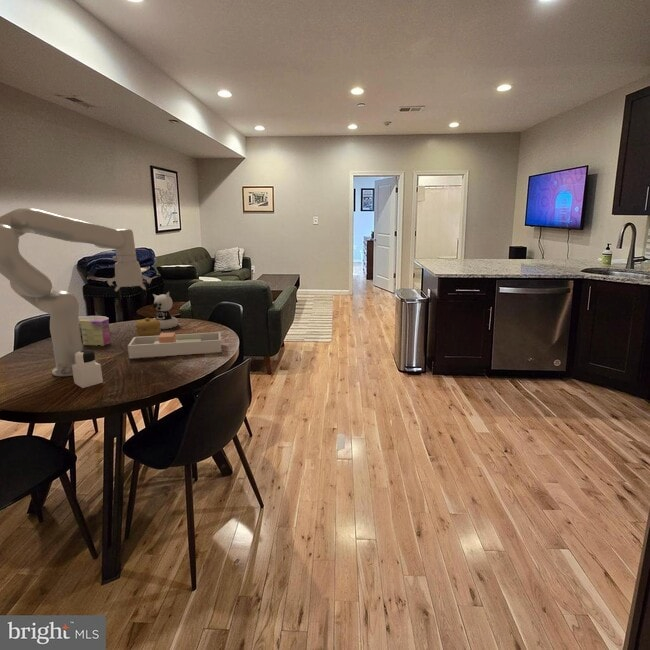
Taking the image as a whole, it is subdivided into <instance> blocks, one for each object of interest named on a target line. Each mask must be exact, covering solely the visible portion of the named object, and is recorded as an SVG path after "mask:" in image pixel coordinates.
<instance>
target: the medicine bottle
mask: <svg viewBox="0 0 650 650" xmlns="http://www.w3.org/2000/svg"><path fill="white" fill-rule="evenodd" d="M75 359H76V364H74V365H72V370H73V375H72V377H73V383H74V384H75V385H76V386H79V387H80V388H81V389H85V388H88V387H93V386H95V385H99V384H103V383H104V380H103V372H102V365H101V363H98V362H96V355H95V351H93V350H91V349H85V350H84V349H83V351H79V352H77V353H76V354H75Z"/></svg>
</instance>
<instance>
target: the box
mask: <svg viewBox="0 0 650 650" xmlns="http://www.w3.org/2000/svg"><path fill="white" fill-rule="evenodd" d="M80 322H81V330H82V337H81V339H82V346H83V345H84V346H98V345H100V347H101V346H103V347H105V346H107V345H109V344H111V342H112V341H111V332H110V330H111V329H110V323H109V322H110V321H109V319H91V318H87V319H84V320H81V321H80ZM106 344H107V345H106ZM104 345H105V346H104Z"/></svg>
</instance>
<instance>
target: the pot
mask: <svg viewBox="0 0 650 650" xmlns="http://www.w3.org/2000/svg"><path fill="white" fill-rule="evenodd" d="M135 328H136V330H135V333H136V334H137V337H143V336H160V334H161V333H162V332H161V331H162V329H161V328H160V322H159V321H158V320H157V319H153V318H150V317H146V318H143V319H140V320H138V321H136V323H135Z"/></svg>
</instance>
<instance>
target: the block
mask: <svg viewBox="0 0 650 650" xmlns="http://www.w3.org/2000/svg"><path fill="white" fill-rule="evenodd" d="M175 335H176V332H175V331H174V332H160V334H159V335H158V336H159V343H172V342H175V341H176V339H175Z"/></svg>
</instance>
